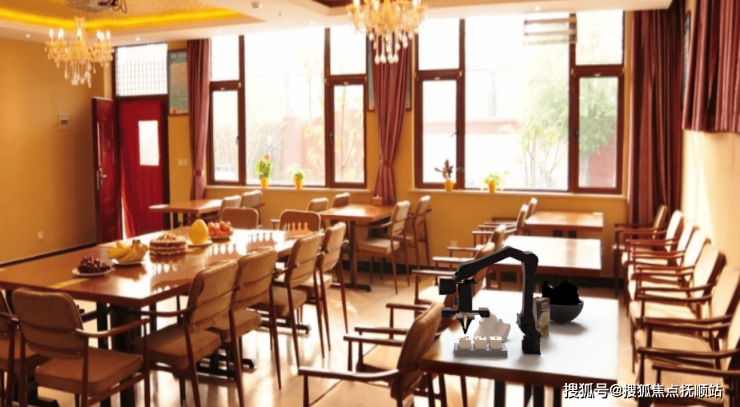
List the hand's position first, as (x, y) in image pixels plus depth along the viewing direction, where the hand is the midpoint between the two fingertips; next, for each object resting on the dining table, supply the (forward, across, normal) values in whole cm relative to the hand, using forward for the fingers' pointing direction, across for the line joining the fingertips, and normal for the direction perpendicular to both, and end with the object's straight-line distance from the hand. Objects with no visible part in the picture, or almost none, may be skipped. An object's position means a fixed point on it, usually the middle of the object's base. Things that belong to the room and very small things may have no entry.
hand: (465, 334), depth 262 cm
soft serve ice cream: (+8, -12, -18) cm, 23 cm away
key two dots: (+6, -6, 0) cm, 8 cm away
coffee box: (+8, -32, -24) cm, 40 cm away
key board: (+8, -6, 0) cm, 10 cm away
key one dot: (+6, -12, 0) cm, 13 cm away
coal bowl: (+8, -46, -45) cm, 65 cm away
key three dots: (+6, 0, 0) cm, 6 cm away
